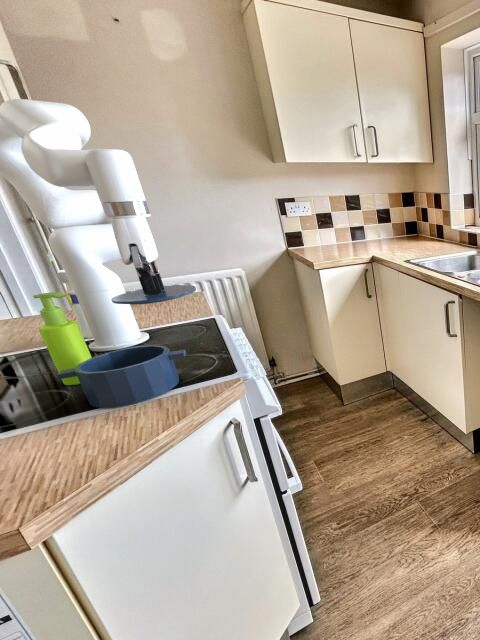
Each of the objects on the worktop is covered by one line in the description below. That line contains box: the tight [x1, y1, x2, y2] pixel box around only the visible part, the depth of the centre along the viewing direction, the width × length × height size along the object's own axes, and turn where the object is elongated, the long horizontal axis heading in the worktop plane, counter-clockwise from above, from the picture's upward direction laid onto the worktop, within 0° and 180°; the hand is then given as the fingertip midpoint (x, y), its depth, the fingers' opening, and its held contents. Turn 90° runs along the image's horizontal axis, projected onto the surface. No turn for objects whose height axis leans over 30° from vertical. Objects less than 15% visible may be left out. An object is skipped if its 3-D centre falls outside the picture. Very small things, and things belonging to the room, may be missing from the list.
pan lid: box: [111, 273, 197, 305], centre depth 98 cm, size 16×16×6 cm
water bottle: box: [46, 250, 94, 339], centre depth 121 cm, size 8×9×25 cm
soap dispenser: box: [33, 291, 93, 386], centre depth 92 cm, size 6×7×20 cm
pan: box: [57, 344, 187, 409], centre depth 88 cm, size 15×20×8 cm
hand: (154, 291), depth 99 cm, fingers closed on pan lid, 2 cm apart
